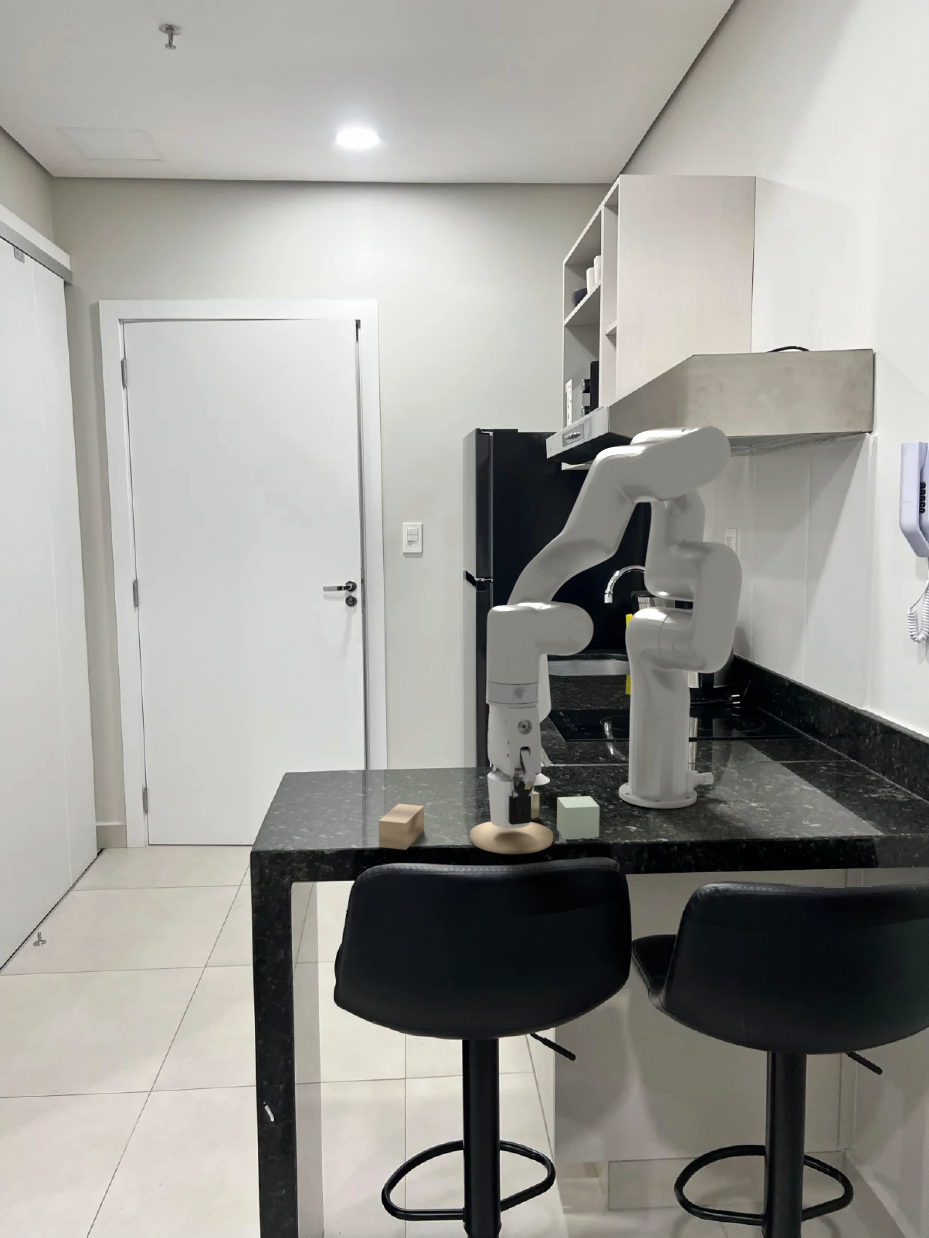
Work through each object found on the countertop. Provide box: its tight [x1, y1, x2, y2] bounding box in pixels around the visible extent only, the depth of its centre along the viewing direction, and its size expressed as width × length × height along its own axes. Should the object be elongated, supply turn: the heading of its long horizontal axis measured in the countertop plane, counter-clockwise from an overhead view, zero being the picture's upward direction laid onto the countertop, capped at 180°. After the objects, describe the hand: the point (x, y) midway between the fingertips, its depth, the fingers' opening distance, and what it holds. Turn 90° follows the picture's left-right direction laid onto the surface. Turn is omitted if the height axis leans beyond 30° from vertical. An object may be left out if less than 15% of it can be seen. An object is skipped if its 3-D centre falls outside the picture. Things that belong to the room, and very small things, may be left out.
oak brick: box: [378, 803, 425, 851], centre depth 136 cm, size 8×4×4 cm, turn 164°
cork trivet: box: [469, 821, 554, 855], centre depth 136 cm, size 12×12×1 cm
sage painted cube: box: [556, 795, 600, 840], centre depth 138 cm, size 5×5×5 cm
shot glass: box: [486, 770, 535, 828], centre depth 135 cm, size 7×7×7 cm
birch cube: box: [531, 790, 540, 819], centre depth 146 cm, size 4×4×4 cm
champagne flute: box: [534, 654, 552, 786], centre depth 164 cm, size 7×7×24 cm
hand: (511, 814), depth 135 cm, fingers closed on shot glass, 6 cm apart
